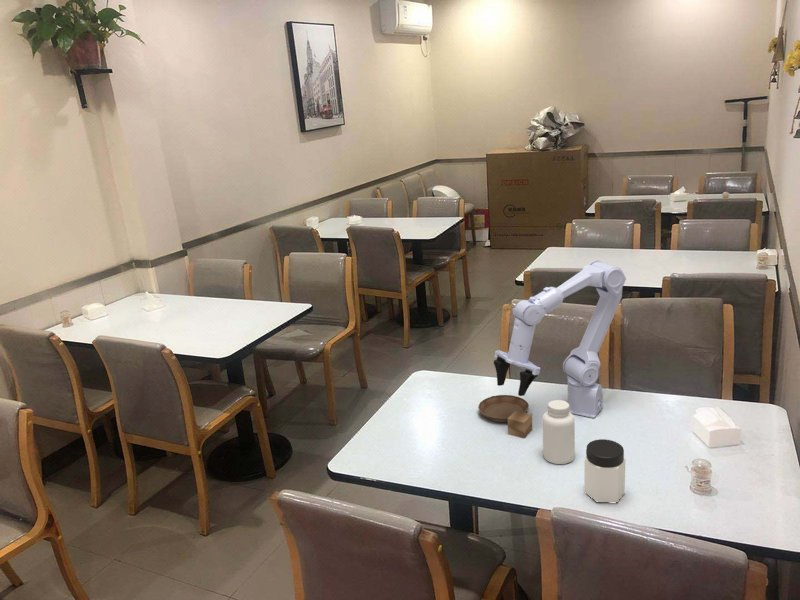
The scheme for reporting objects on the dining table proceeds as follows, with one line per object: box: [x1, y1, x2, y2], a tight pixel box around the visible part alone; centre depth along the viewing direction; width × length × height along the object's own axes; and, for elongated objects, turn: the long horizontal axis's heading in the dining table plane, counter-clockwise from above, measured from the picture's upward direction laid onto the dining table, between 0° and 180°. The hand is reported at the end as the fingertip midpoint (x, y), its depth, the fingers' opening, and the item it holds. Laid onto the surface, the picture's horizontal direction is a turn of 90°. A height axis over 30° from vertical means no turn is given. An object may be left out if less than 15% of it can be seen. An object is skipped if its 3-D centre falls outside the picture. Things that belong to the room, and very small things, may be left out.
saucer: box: [478, 394, 530, 423], centre depth 187 cm, size 15×15×3 cm
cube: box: [507, 411, 533, 439], centre depth 176 cm, size 5×5×5 cm
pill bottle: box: [541, 399, 576, 465], centre depth 161 cm, size 8×8×15 cm
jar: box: [583, 438, 626, 503], centre depth 145 cm, size 9×8×12 cm
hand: (510, 390), depth 176 cm, fingers open, 7 cm apart
